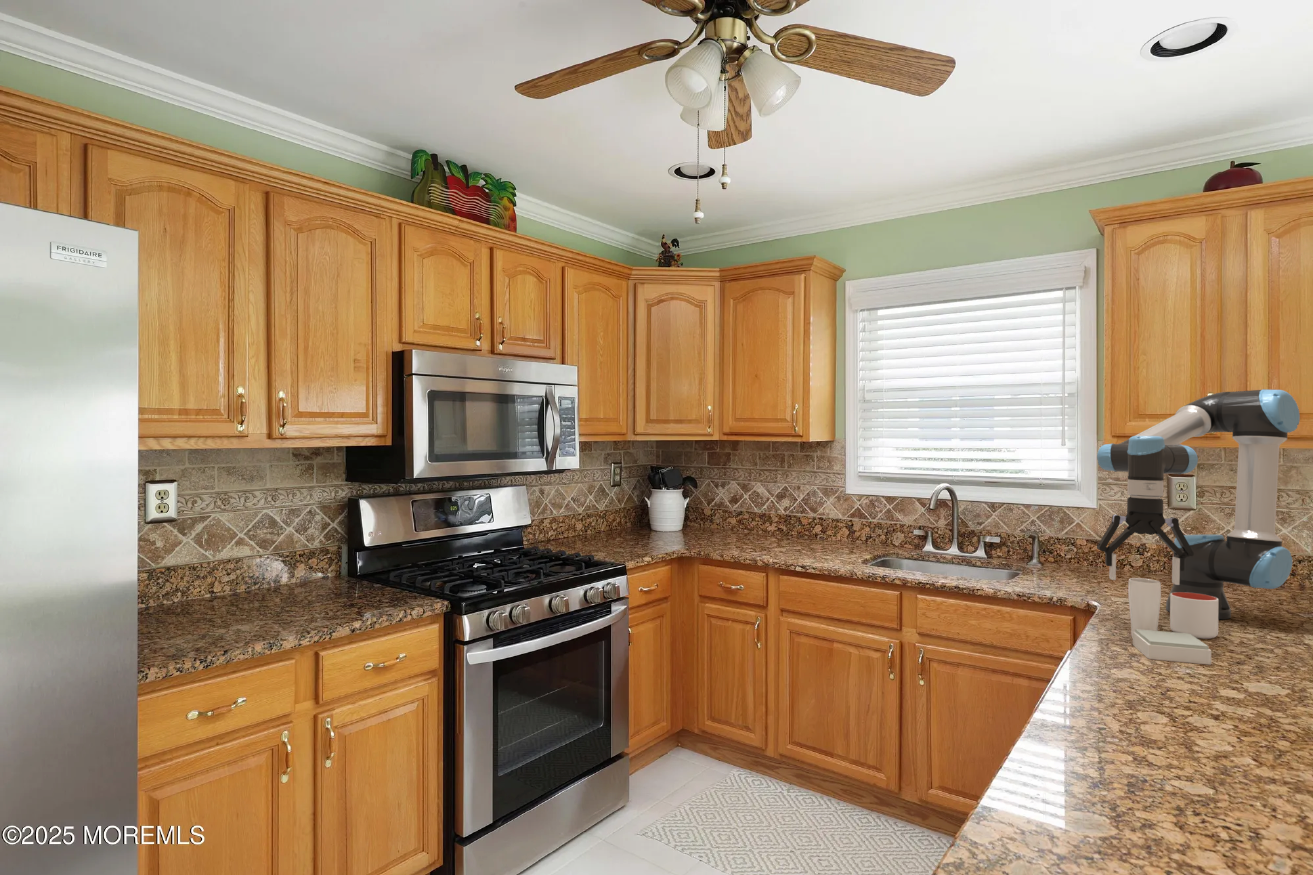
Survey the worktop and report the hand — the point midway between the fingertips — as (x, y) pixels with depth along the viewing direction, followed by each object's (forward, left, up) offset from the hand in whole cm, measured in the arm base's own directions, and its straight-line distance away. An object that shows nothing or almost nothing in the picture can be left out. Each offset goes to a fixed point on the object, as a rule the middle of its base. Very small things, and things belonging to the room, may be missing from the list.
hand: (1143, 581), depth 179 cm
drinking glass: (0, 0, -15) cm, 15 cm away
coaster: (-2, +12, -15) cm, 19 cm away
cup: (-14, -11, -15) cm, 24 cm away
